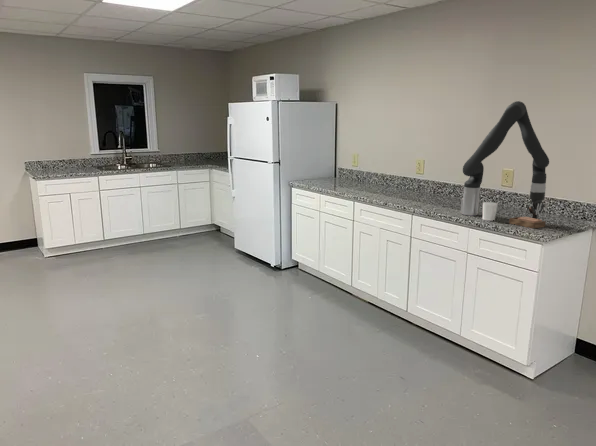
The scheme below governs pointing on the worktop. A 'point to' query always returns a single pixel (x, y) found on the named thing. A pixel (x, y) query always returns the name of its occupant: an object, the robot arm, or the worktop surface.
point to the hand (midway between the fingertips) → (534, 220)
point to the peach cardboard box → (529, 219)
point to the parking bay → (526, 223)
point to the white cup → (489, 211)
